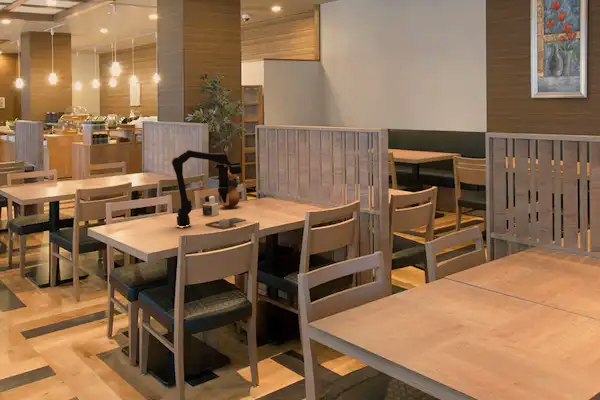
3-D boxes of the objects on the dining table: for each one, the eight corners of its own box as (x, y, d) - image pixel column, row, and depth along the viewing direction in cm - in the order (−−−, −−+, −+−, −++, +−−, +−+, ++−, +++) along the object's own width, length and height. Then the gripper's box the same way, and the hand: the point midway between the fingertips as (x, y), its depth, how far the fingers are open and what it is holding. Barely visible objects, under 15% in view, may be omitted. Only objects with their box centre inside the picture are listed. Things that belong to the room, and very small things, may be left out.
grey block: (224, 228, 333) (224, 221, 333) (219, 227, 336) (218, 220, 335) (229, 226, 337) (229, 219, 336) (224, 225, 339) (223, 219, 338)
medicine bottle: (202, 215, 369) (201, 196, 367) (209, 213, 375) (208, 194, 373) (212, 216, 366) (211, 197, 364) (218, 214, 372) (217, 195, 370)
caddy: (223, 229, 330) (223, 227, 330) (205, 225, 341) (205, 223, 341) (235, 226, 336) (235, 224, 336) (217, 222, 347) (217, 221, 347)
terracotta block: (228, 205, 342) (227, 194, 341) (221, 205, 342) (220, 195, 341) (228, 203, 346) (228, 193, 345) (221, 204, 346) (221, 194, 345)
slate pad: (232, 223, 343) (232, 222, 343) (221, 221, 350) (221, 220, 350) (245, 220, 350) (245, 219, 350) (235, 218, 357) (234, 217, 357)
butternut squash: (244, 207, 392) (242, 169, 388) (228, 210, 383) (226, 172, 378) (230, 205, 402) (228, 168, 397) (214, 208, 392) (212, 170, 387)
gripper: (237, 176, 333) (238, 204, 335) (237, 172, 351) (239, 198, 354) (216, 177, 332) (218, 205, 335) (218, 173, 350) (220, 199, 353)
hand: (225, 202), depth 344 cm, fingers closed on terracotta block, 4 cm apart
